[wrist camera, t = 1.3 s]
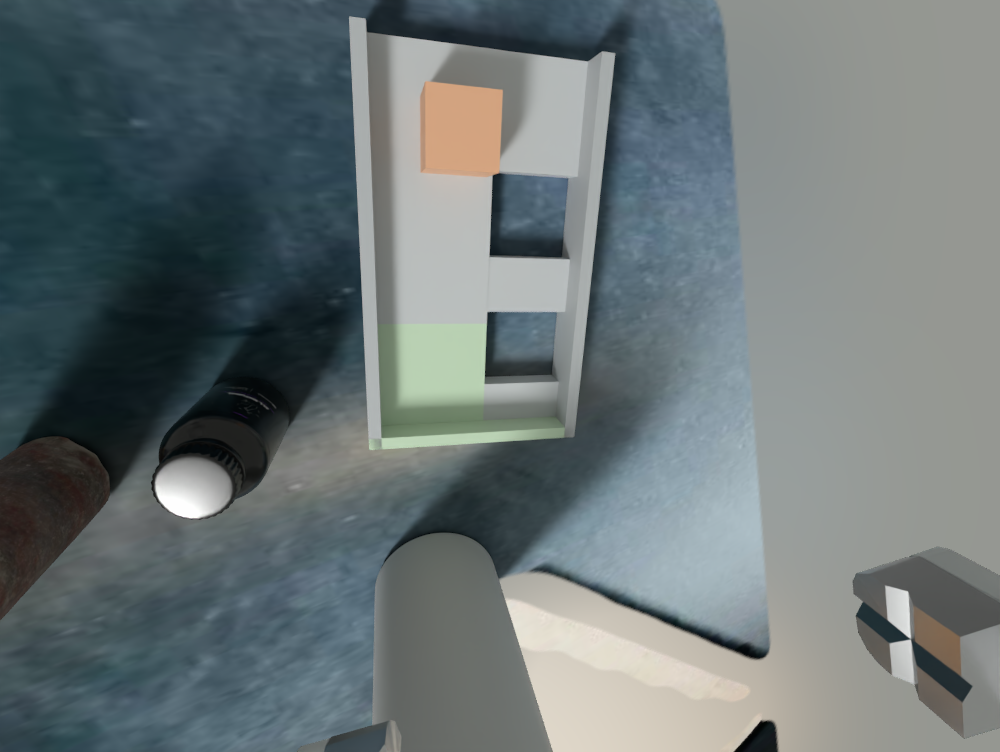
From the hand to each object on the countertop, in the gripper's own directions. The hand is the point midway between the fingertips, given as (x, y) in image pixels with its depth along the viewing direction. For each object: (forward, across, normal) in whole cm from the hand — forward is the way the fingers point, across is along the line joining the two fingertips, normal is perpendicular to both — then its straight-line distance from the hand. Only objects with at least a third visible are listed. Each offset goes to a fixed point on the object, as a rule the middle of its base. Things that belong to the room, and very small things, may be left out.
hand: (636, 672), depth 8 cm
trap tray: (+35, -1, -8) cm, 36 cm away
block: (+32, -2, -17) cm, 36 cm away
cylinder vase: (+39, +11, +23) cm, 46 cm away
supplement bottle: (+35, +20, -1) cm, 40 cm away
